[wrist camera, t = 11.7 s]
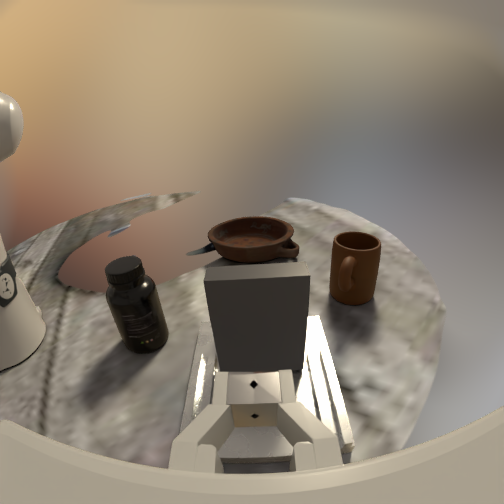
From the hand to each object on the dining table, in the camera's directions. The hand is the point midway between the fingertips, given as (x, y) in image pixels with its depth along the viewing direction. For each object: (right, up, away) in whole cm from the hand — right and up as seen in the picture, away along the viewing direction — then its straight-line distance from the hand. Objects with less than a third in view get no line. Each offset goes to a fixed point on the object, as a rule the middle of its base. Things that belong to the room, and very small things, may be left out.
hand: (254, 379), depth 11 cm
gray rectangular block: (+1, -7, +21) cm, 22 cm away
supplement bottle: (-15, -7, +26) cm, 31 cm away
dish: (0, +5, +52) cm, 52 cm away
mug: (+15, -3, +32) cm, 36 cm away
